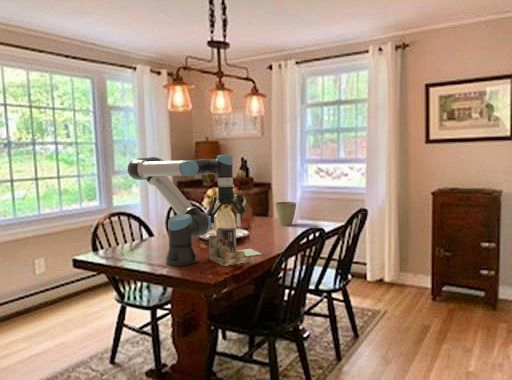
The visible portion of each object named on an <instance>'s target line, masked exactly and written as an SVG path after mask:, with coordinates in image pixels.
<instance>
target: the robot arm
mask: <svg viewBox="0 0 512 380" xmlns="http://www.w3.org/2000/svg"><path fill="white" fill-rule="evenodd" d="M233 164H234V163H233V156H232V155H231V154H218V155H217V156H216V158H200V159H186V160H163V159H162V158H160V157H157V156H156V157H155V156H151V157H137V158H134V159H132V160H131V161H129V163H128V165H127V173H128V175H129V177H131V178H132V179H133V180H138V181H141V180H142V181H143V180H146V181H147V182H148V183H149V185H150V186H154V187H155V188H156V189H157V191H158V192H159V193H160V194H161V195H162V197H163V198H164V199H165V201H167V203H168V204H169V205H170V206H171V208H172V209H173V210H174V212H175V213H176V214H175V215H173V216H170V217H169V219H168V220H167V222H168V225H167V229H168V231H167V233H168V251H167V253H166V254H167V255H166V258H165V264H167V265H168V266H171V265H172V266H173V267H183V266H182V265H185V266H190V265H189V264H191V265H194V264H195V262H196V263H197V254H196V252H195V249H194V245H193V241H194V240H193V239H194V238H195V239H196V238H198V237H202V236H204V235H207V234H208V233H209V231H211V229H212V230H214V231H216V230H217V218H216V214H217V213H218V211H220V209H221V207H222V206H224V205H225V206H226V205H231V206H232V208H233V209H234V210H235V211H236V212H237V213H236V227H238V228H241V227H242V226H241V222H242V221H241V220H242V219H243V216H242V215H243V213H245V212H246V209H245V208H244V205H243V203H242V201H241V200H240V195H239V194H234V186H233V185H234V175H233ZM200 175H201V176H202V175H217V186H218V187H217V194H218V195H217V196H212V197H211V198H212V200H211V202H210V205H209V207H208V210H207V212H204V211H203V212H201V210H199V208H198V207H197V206H193V205H192V204H191V203H190V202H189V201H188V199H187V198H186V197H185V195H184V194H183V193H182V192H181V191H180V189H179V188H178V187H177V186H176V185H175V183H174V182H173V180H171V178H169V177H178V176H179V177H182V176H185V177H194V176H200ZM234 199H235V202H234ZM193 263H194V264H193Z"/></svg>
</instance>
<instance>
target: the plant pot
mask: <svg viewBox="0 0 512 380" xmlns="http://www.w3.org/2000/svg"><path fill="white" fill-rule="evenodd" d="M275 208H276V213H277V214H276V215H277V217H278V221H279V224H280V226H282V227H283V226H284V227H289V226H292V224H293V222H294V218H295V215H296V209H297V202H296V201H295V202H294V201H277V202H275Z"/></svg>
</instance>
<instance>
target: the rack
mask: <svg viewBox="0 0 512 380" xmlns="http://www.w3.org/2000/svg"><path fill="white" fill-rule="evenodd" d="M208 258H209V259H208V260H210V261H212V262H213V261H214V262H213V263H215V262H216V264H217V263H218V264H217V265H219V264H220V265H219V266H221V265H222V266H221V267H223V266H227V267H229V266H228V265H233V266H235V265H234V264H238V265H241V264H240V263H244V264H248V263H247V262H249V263H250V257H249V256H246V255H245V257H242V258H236V259H230V260H223V259H221V258H219V257H217V235H216V234H215V235H208Z"/></svg>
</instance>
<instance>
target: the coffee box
mask: <svg viewBox="0 0 512 380" xmlns="http://www.w3.org/2000/svg"><path fill="white" fill-rule="evenodd" d="M215 231H216V234H215V235H217V257H219V258H221V259H222V258H225V253H229V252H235V251H237V235H236V234H237V233H236V232H237V231H236V227H219V228H216V230H215Z"/></svg>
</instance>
